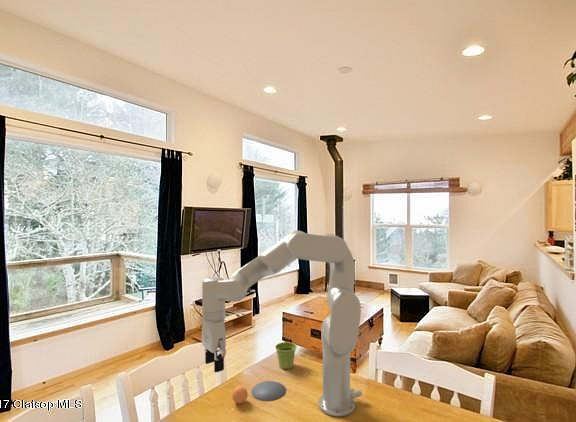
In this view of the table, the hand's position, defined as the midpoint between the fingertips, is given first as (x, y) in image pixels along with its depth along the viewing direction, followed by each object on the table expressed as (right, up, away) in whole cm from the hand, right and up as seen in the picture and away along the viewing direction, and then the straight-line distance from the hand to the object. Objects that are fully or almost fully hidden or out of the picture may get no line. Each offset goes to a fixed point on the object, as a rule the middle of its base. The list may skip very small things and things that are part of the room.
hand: (214, 366), depth 113 cm
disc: (+18, -15, +13) cm, 27 cm away
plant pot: (+24, -15, +33) cm, 43 cm away
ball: (+8, -13, +6) cm, 16 cm away
